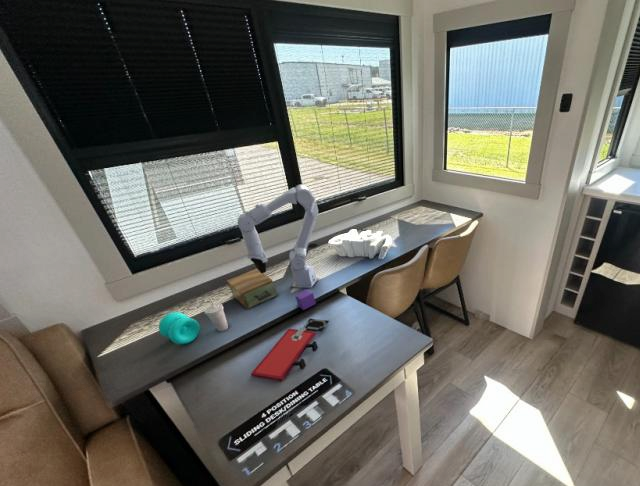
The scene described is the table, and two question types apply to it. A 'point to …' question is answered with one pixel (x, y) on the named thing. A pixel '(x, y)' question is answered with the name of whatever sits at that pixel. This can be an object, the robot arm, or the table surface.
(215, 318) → the smoothie
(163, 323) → the turquoise spool
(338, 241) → the wavy white extrusion
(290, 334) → the red board with handle
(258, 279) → the cabinet
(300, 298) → the purple box
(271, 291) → the drawer
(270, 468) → the table surface
